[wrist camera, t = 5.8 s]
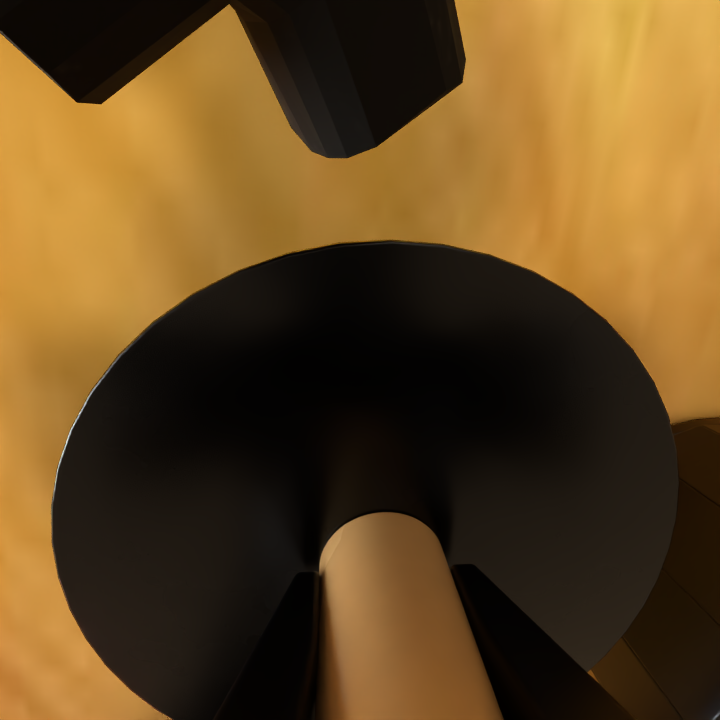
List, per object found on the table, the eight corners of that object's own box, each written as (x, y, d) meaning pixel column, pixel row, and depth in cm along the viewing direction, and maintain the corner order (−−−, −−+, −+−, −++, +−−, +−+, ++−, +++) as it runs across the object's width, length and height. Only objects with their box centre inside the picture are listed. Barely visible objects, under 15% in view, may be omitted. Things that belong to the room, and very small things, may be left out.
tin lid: (136, 729, 10) (-80, 1279, 5) (20, 235, 7) (-1352, 234, 1) (585, 694, 11) (827, 1126, 6) (701, 242, 7) (1654, 258, 2)
